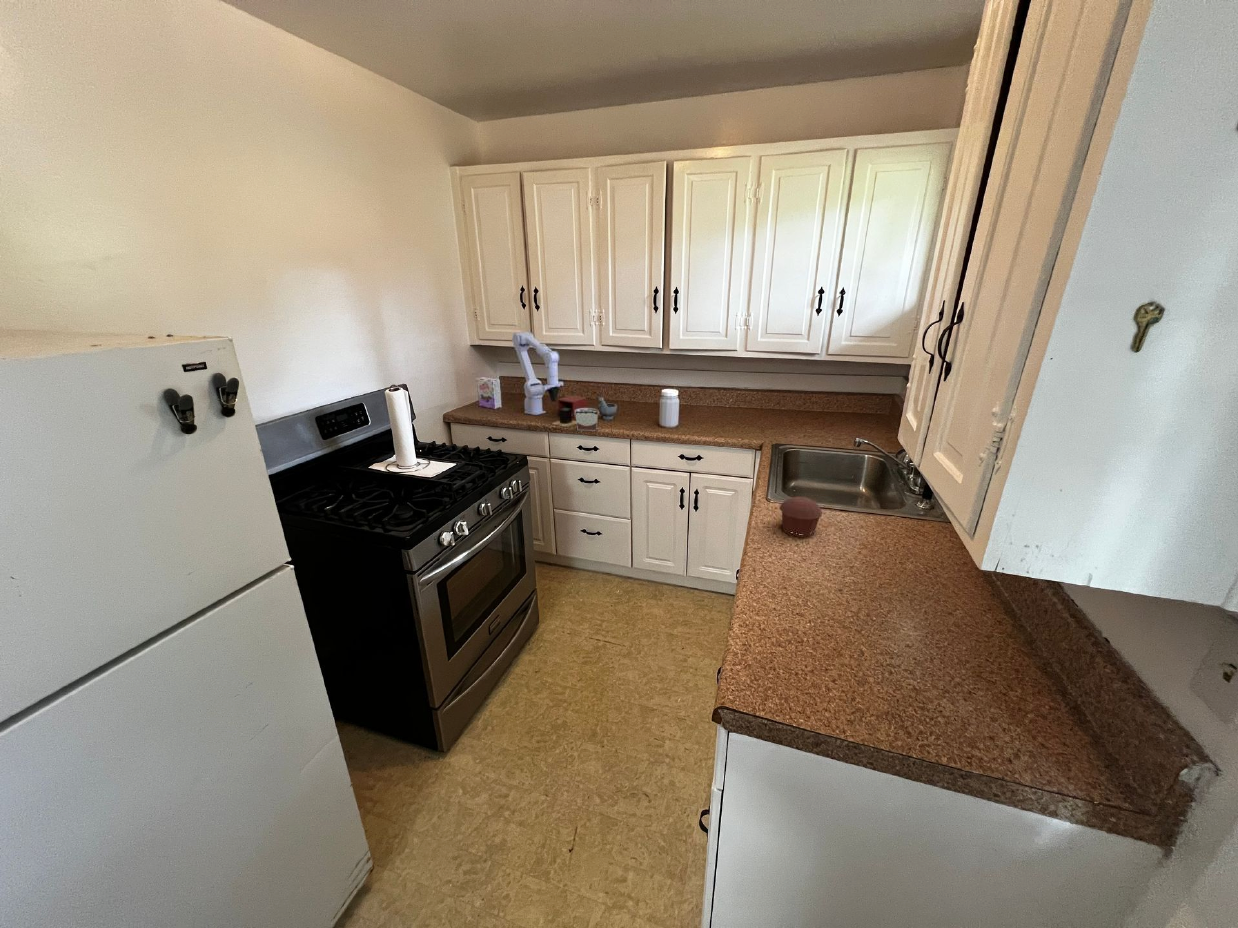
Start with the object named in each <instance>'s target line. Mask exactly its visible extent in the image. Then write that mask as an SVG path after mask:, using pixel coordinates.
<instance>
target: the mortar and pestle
mask: <svg viewBox="0 0 1238 928" xmlns="http://www.w3.org/2000/svg"><path fill="white" fill-rule="evenodd" d="M598 401H599V405H598V411H599V415H601V419H603V420H606V421H607V420H613V419H614V415H616V412H617V409H618V405H617V404H615V403H611V402H608V403H606V401H605V398H604V397H602V396H601V397H599V398H598Z"/></svg>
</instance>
